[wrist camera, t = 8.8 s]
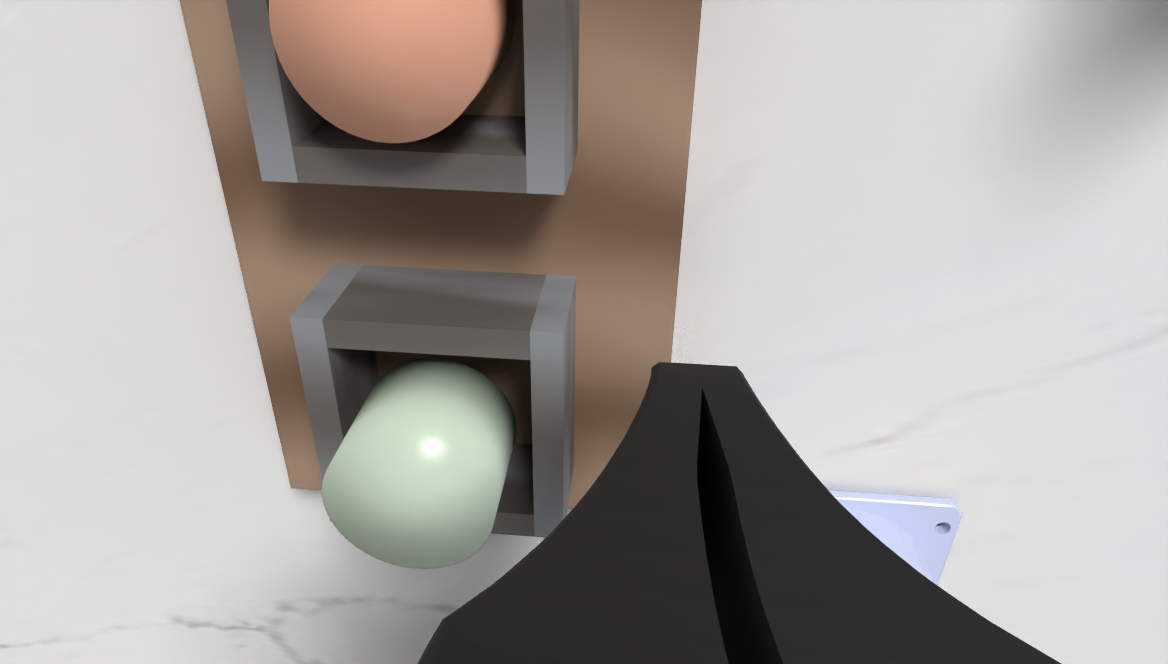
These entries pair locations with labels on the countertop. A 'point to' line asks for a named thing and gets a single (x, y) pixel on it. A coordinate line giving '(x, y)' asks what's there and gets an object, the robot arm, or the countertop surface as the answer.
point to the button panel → (467, 234)
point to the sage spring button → (423, 465)
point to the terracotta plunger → (391, 60)
